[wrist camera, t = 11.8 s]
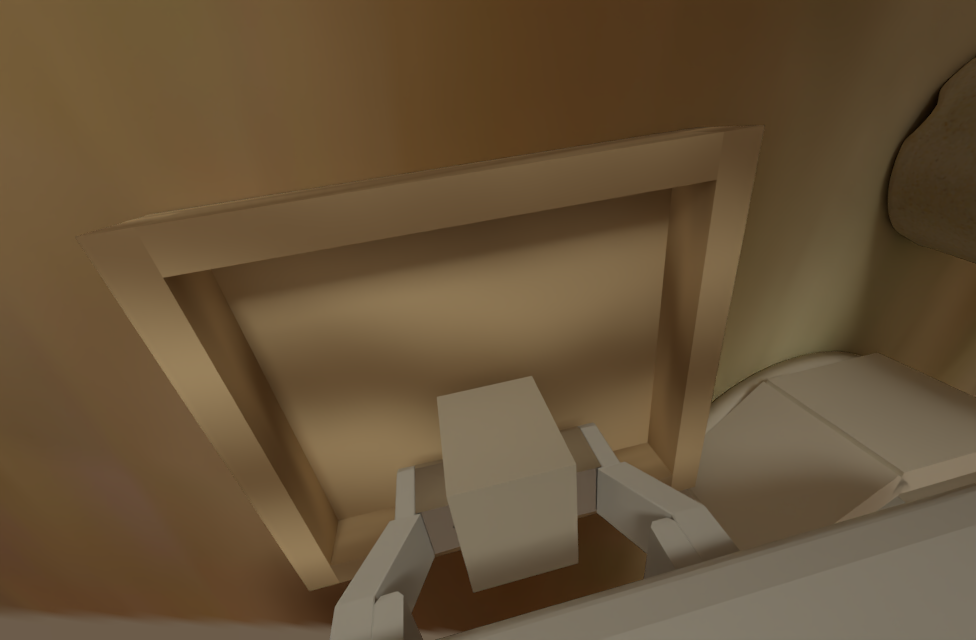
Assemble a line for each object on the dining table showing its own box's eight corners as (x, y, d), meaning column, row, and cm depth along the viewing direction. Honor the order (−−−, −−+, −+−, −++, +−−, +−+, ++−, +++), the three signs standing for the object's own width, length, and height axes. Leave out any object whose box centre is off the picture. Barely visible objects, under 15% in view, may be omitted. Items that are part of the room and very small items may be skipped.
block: (436, 396, 11) (446, 496, 8) (531, 375, 11) (576, 464, 8) (458, 484, 13) (473, 592, 10) (539, 464, 13) (578, 563, 10)
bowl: (666, 387, 14) (787, 505, 10) (929, 324, 16) (1146, 403, 11) (645, 564, 20) (716, 692, 15) (840, 507, 21) (959, 610, 16)
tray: (149, 214, 9) (74, 237, 7) (697, 127, 10) (764, 124, 8) (323, 529, 14) (309, 591, 12) (659, 443, 16) (694, 486, 14)
